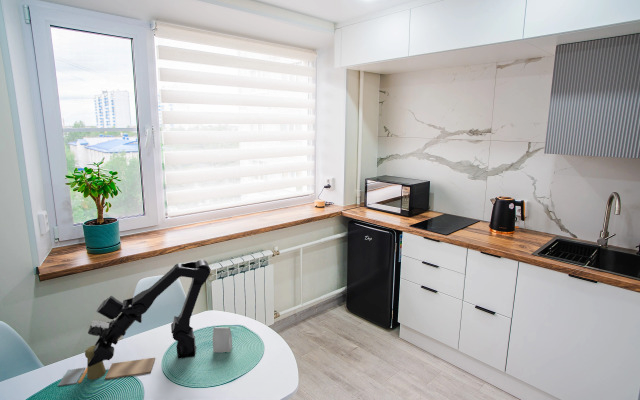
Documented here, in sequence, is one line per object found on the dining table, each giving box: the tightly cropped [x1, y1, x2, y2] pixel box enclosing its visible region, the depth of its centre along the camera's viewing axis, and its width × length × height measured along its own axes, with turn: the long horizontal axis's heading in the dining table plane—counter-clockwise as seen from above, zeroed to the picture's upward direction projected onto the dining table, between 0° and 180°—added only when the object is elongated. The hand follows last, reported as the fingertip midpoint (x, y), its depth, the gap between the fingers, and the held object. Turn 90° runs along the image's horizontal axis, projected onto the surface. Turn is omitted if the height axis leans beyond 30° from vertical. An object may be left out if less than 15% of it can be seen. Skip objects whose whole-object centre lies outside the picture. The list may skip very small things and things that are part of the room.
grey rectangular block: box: [212, 326, 233, 353], centre depth 149 cm, size 4×7×10 cm, turn 88°
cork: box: [84, 344, 107, 381], centre depth 134 cm, size 6×6×11 cm
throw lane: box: [57, 357, 156, 387], centre depth 136 cm, size 31×8×1 cm, turn 103°
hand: (90, 358), depth 133 cm, fingers open, 9 cm apart
